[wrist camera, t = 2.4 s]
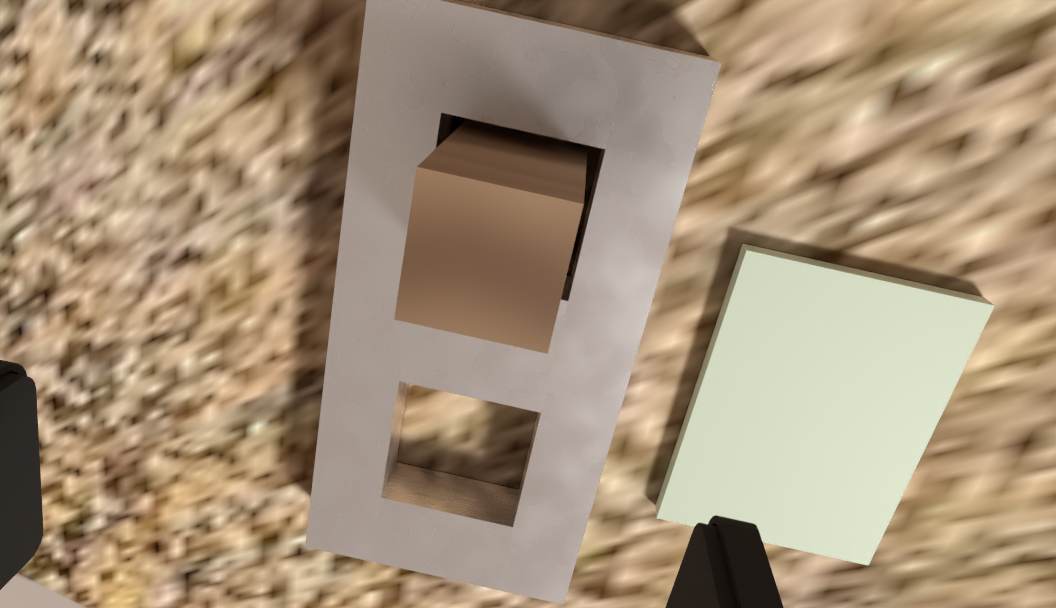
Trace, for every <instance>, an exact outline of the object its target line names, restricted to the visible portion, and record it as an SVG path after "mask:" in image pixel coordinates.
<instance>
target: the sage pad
mask: <svg viewBox="0 0 1056 608" xmlns="http://www.w3.org/2000/svg"><path fill="white" fill-rule="evenodd" d="M993 308H994V305H993V304H992V303H991V302H989V301H988V300H987V299H986V298H984V297H980V296H976V295H971V294H967V293H962V292H958V291H953V290H949V289H945V288H940V287H936V286H931V285H927V284H922V283H918V282H913V281H909V280H904V279H900V278H895V277H891V276H886V275H882V274H877V273H873V272H868V271H864V270H859V269H855V268H850V267H846V266H841V265H837V264H832V263H828V262H824V261H819V260H815V259H810V258H806V257H801V256H797V255H792V254H788V253H783V252H779V251H774V250H770V249H765V248H761V247H756V246H752V245H747V244H742V247H741V250H740V253H739V256H738V259H737V262H736V265H735V268H734V271H733V274H732V277H731V280H730V283H729V286H728V289H727V292H726V295H725V298H724V301H723V304H722V307H721V310H720V313H719V316H718V319H717V322H716V325H715V328H714V331H713V334H712V337H711V340H710V343H709V346H708V349H707V352H706V355H705V358H704V361H703V364H702V367H701V370H700V373H699V376H698V379H697V382H696V385H695V388H694V391H693V394H692V397H691V400H690V404H689V407H688V410H687V413H686V416H685V419H684V422H683V425H682V428H681V431H680V434H679V437H678V440H677V443H676V446H675V449H674V452H673V455H672V458H671V461H670V464H669V467H668V470H667V473H666V476H665V479H664V482H663V485H662V488H661V491H660V494H659V497H658V500H657V503H656V506H655V507H656V516H657V518H658V519H663V520H667V521H672V522H676V523H681V524H685V525H690V526H694V527H695V526H696V524H697V523H704V524H708V523H709V521H710V519H711V518H712V517H713V516H715V515H717V516H722V517H726V518H731V519H735V520H740V521H745V522H749V523H753V524H755V525H756V526H757V528H758V530H759V533H760V536H761V539H762V542H766V543H770V544H774V545H779V546H783V547H788V548H792V549H797V550H801V551H806V552H810V553H815V554H819V555H824V556H828V557H833V558H837V559H841V560H846V561H850V562H855V563H859V564H864V565H869V563H870V561H871V559H872V557H873V555H874V553H875V551H876V549H877V547H878V544H879V542H880V540H881V538H882V536H883V534H884V532H885V530H886V528H887V526H888V524H889V522H890V520H891V518H892V516H893V514H894V512H895V510H896V507H897V505H898V503H899V501H900V499H901V497H902V495H903V493H904V491H905V489H906V487H907V485H908V483H909V481H910V479H911V477H912V475H913V472H914V470H915V468H916V466H917V464H918V462H919V460H920V458H921V456H922V454H923V452H924V450H925V448H926V446H927V444H928V442H929V440H930V437H931V435H932V433H933V431H934V429H935V427H936V425H937V423H938V421H939V419H940V417H941V415H942V413H943V411H944V409H945V407H946V405H947V403H948V400H949V398H950V396H951V394H952V392H953V390H954V388H955V386H956V384H957V382H958V380H959V378H960V376H961V374H962V372H963V370H964V368H965V365H966V363H967V361H968V359H969V357H970V355H971V353H972V351H973V349H974V347H975V345H976V343H977V341H978V339H979V337H980V335H981V333H982V331H983V328H984V326H985V324H986V322H987V320H988V318H989V316H990V314H991V312H992V310H993Z"/></svg>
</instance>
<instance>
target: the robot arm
mask: <svg viewBox="0 0 1056 608" xmlns="http://www.w3.org/2000/svg"><path fill="white" fill-rule="evenodd" d="M42 536H43V516H42V496H41V477H40V457H39V437H38V418H37V398H36V386H35V382H34V381H33V379H31V378H30V377H27V374H26V371H25V369H24V368H23V366H21V365H19V364H17V363H12V362H8V361H3V360H0V590H1V589H2V588H3V587H4V586H5V584H7V582H8V581H9V580H10V579H12V577H13V576H15V575H16V574H17V573H18V572H19V571H20V570H21V569H22V567H23V566H24V565H25V564H26V563H27V562H28V561H29V560H30V559H31V558H32V557H33V556H34V555H35V553H36V551H37V550H38V548H39V545H40V543H41V540H42ZM666 608H783V605H782V602H781V599H780V595H779V592H778V589H777V586H776V583H775V580H774V577H773V574H772V570H771V567H770V564H769V561H768V558H767V555H766V552H765V549H764V545H763V542H762V539H761V536H760V533H759V530H758V528H757V526H756V525H755V524H753V523H749V522H745V521H740V520H735V519H731V518H726V517H722V516H717V515H715V516H713V517H712V518H711V519H710V521H709V523H708V524H704V523H697V524H696V526H695V528H694V530H693V533H692V535H691V538H690V541H689V544H688V546H687V549H686V552H685V555H684V558H683V560H682V563H681V566H680V569H679V572H678V574H677V577H676V580H675V583H674V586H673V588H672V591H671V594H670V597H669V600H668V602H667V605H666Z"/></svg>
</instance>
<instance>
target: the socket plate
mask: <svg viewBox="0 0 1056 608" xmlns="http://www.w3.org/2000/svg"><path fill="white" fill-rule="evenodd" d="M720 67H721V62H719V61H717V60H716V59H714V58H712V57H710V56H705V55H701V54H696V53H692V52H687V51H683V50H678V49H674V48H669V47H665V46H660V45H656V44H651V43H647V42H642V41H638V40H633V39H629V38H624V37H620V36H615V35H611V34H606V33H602V32H598V31H593V30H589V29H584V28H580V27H575V26H571V25H566V24H562V23H557V22H553V21H548V20H544V19H539V18H535V17H530V16H526V15H521V14H517V13H512V12H508V11H503V10H499V9H494V8H490V7H485V6H481V5H476V4H472V3H467V2H463V1H458V0H366V9H365V18H364V27H363V36H362V45H361V54H360V63H359V72H358V81H357V90H356V99H355V108H354V116H353V125H352V134H351V143H350V152H349V161H348V170H347V179H346V188H345V197H344V206H343V215H342V223H341V232H340V241H339V250H338V259H337V268H336V277H335V286H334V295H333V304H332V313H331V322H330V331H329V339H328V348H327V357H326V366H325V375H324V384H323V393H322V402H321V411H320V420H319V429H318V438H317V447H316V455H315V464H314V473H313V482H312V491H311V500H310V509H309V518H308V527H307V536H306V545H305V547H309V548H314V549H318V550H323V551H327V552H332V553H336V554H340V555H345V556H349V557H354V558H358V559H363V560H367V561H372V562H376V563H381V564H385V565H389V566H394V567H398V568H403V569H407V570H412V571H416V572H421V573H425V574H430V575H434V576H438V577H443V578H447V579H452V580H456V581H461V582H465V583H470V584H474V585H479V586H483V587H487V588H492V589H496V590H501V591H505V592H510V593H514V594H519V595H523V596H528V597H532V598H537V599H541V600H545V601H550V602H554V603H559V604H563V605H564V601H565V598H566V594H567V591H568V587H569V584H570V581H571V577H572V574H573V570H574V567H575V563H576V560H577V557H578V553H579V550H580V546H581V543H582V539H583V536H584V533H585V529H586V526H587V522H588V519H589V515H590V512H591V509H592V505H593V502H594V498H595V495H596V491H597V488H598V485H599V481H600V478H601V474H602V471H603V467H604V464H605V461H606V457H607V454H608V450H609V447H610V444H611V440H612V437H613V433H614V430H615V426H616V423H617V420H618V416H619V413H620V409H621V406H622V402H623V399H624V396H625V392H626V389H627V385H628V382H629V378H630V375H631V372H632V368H633V365H634V361H635V358H636V354H637V351H638V348H639V344H640V341H641V337H642V334H643V330H644V327H645V324H646V320H647V317H648V313H649V310H650V306H651V303H652V300H653V296H654V293H655V289H656V286H657V282H658V279H659V276H660V272H661V269H662V265H663V262H664V259H665V255H666V252H667V248H668V245H669V241H670V238H671V235H672V231H673V228H674V224H675V221H676V217H677V214H678V211H679V207H680V204H681V200H682V197H683V193H684V190H685V187H686V183H687V180H688V176H689V173H690V169H691V166H692V163H693V159H694V156H695V152H696V149H697V145H698V142H699V139H700V135H701V132H702V128H703V125H704V121H705V118H706V115H707V111H708V108H709V104H710V101H711V98H712V94H713V91H714V87H715V84H716V80H717V77H718V74H719V70H720ZM453 115H454V116H459V117H463V118H468V119H472V120H477V121H481V122H485V123H490V124H494V125H499V126H503V127H508V128H512V129H517V130H521V131H526V132H530V133H535V134H539V135H544V136H548V137H553V138H557V139H562V140H566V141H571V142H575V143H580V144H584V145H589V146H593V147H598V148H602V150H601V154H600V159H599V163H598V167H597V171H596V175H595V179H594V183H593V187H592V191H591V196H590V200H589V204H588V208H587V212H586V216H585V220H584V224H583V229H582V233H581V237H580V241H579V245H578V249H577V253H576V257H575V261H574V266H573V270H572V274H571V276H566V280H565V284H564V288H563V293H562V297H561V301H560V305H559V309H558V313H557V317H556V322H555V326H554V330H553V334H552V338H551V342H550V347H549V351H548V354H546V353H542V352H537V351H533V350H528V349H524V348H519V347H515V346H510V345H506V344H501V343H497V342H492V341H488V340H483V339H479V338H475V337H470V336H466V335H461V334H457V333H452V332H448V331H443V330H439V329H434V328H430V327H425V326H421V325H416V324H412V323H407V322H403V321H398V320H394V317H395V310H396V303H397V297H398V290H399V283H400V276H401V270H402V263H403V256H404V249H405V243H406V236H407V229H408V223H409V216H410V209H411V202H412V196H413V189H414V182H415V175H416V169H417V166H418V165H419V164H420V163H421V162H422V161H423V160H424V159H426V158H427V157H428V156H429V155H430V154H431V153H432V152H433V151H434V150H435V149H436V148H437V147H438V146H439V145H440V144H441V143H442V142H443V141H444V140H445V139H446V138H448V137H449V135H450V129H451V123H452V117H453ZM409 383H410V384H414V385H419V386H423V387H428V388H432V389H437V390H441V391H446V392H450V393H454V394H459V395H463V396H468V397H472V398H477V399H481V400H486V401H490V402H495V403H499V404H504V405H508V406H513V407H517V408H521V409H526V410H530V411H535V412H538V414H537V418H536V422H535V426H534V430H533V434H532V439H531V443H530V447H529V451H528V455H527V459H526V463H525V467H524V472H523V476H522V480H521V484H520V488H519V489H514V488H510V487H505V486H501V485H496V484H492V483H487V482H483V481H479V480H474V479H470V478H465V477H461V476H456V475H452V474H447V473H443V472H438V471H434V470H429V469H425V468H421V467H416V466H412V465H407V464H403V463H398V462H396V461H397V455H398V449H399V443H400V437H401V430H402V424H403V418H404V412H405V406H406V400H407V394H408V387H409Z"/></svg>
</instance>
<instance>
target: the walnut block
mask: <svg viewBox="0 0 1056 608" xmlns="http://www.w3.org/2000/svg"><path fill="white" fill-rule="evenodd" d="M587 151H588V146H584V145H579V144H575V143H570V142H566V141H561V140H557V139H552V138H548V137H543V136H539V135H534V134H530V133H525V132H521V131H517V130H512V129H508V128H503V127H499V126H494V125H490V124H485V123H481V122H476V121H472V120H467V119H466V120H465V121H464V122H463V123H462V124H461V125H460V126H459V127H458V128H457V129H456V130H455V131H454V132H453V133H452V134H451V135H450V136H449V137H448V138H446V139H445V140H444V141H443V142H442V143H441V144H440V145H439V146H438V147H437V148H436V149H435V150H434V151H433V152H432V153H431V154H430V155H429V156H428V157H427V158H426V159H424V160H423V161H422V162H421V163H420V164H419V165H418V166H417V169H416V175H415V182H414V189H413V196H412V202H411V209H410V216H409V223H408V229H407V236H406V243H405V249H404V256H403V263H402V270H401V276H400V283H399V290H398V297H397V303H396V310H395V317H394V320H398V321H403V322H407V323H412V324H416V325H421V326H425V327H430V328H434V329H439V330H443V331H448V332H452V333H457V334H461V335H466V336H470V337H475V338H479V339H483V340H488V341H492V342H497V343H501V344H506V345H510V346H515V347H519V348H524V349H528V350H533V351H537V352H542V353H546V354H548V351H549V347H550V342H551V338H552V334H553V330H554V326H555V322H556V317H557V313H558V309H559V305H560V301H561V297H562V293H563V288H564V284H565V280H566V276H567V272H568V268H569V263H570V259H571V255H572V251H573V247H574V243H575V238H576V234H577V230H578V226H579V222H580V218H581V214H582V209H583V205H584V194H585V180H586V166H587Z"/></svg>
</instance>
